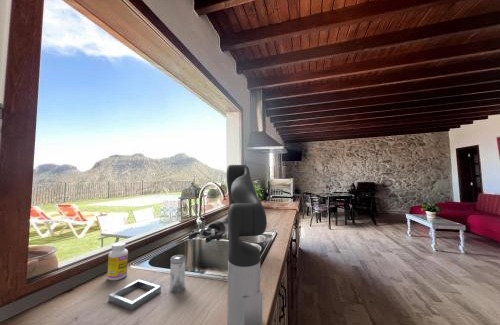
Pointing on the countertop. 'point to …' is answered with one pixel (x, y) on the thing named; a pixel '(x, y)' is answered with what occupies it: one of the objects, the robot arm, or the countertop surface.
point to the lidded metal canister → (177, 273)
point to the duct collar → (131, 305)
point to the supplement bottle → (117, 261)
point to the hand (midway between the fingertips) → (197, 238)
